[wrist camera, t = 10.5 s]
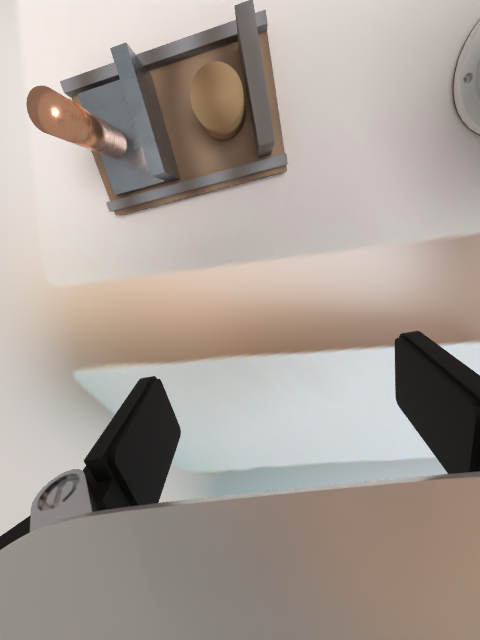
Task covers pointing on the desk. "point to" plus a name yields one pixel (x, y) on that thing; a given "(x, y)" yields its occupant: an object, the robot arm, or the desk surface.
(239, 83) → the tan round peg
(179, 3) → the desk surface
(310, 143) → the desk surface
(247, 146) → the press base
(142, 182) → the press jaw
